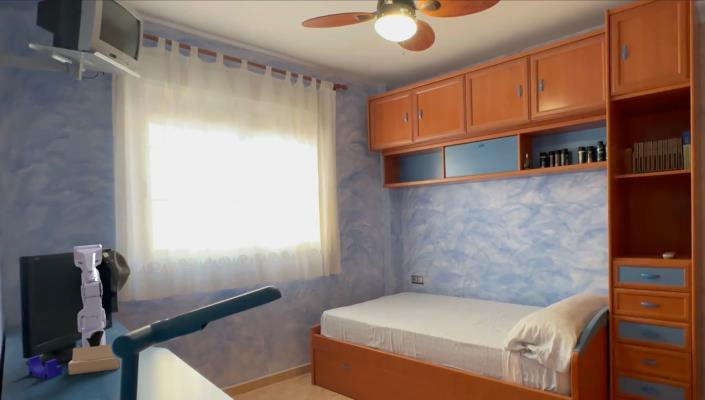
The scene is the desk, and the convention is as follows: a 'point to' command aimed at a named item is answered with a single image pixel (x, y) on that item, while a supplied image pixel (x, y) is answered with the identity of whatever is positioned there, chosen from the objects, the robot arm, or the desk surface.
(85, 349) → the carton flap
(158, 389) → the desk surface
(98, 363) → the carton
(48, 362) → the cable clip
